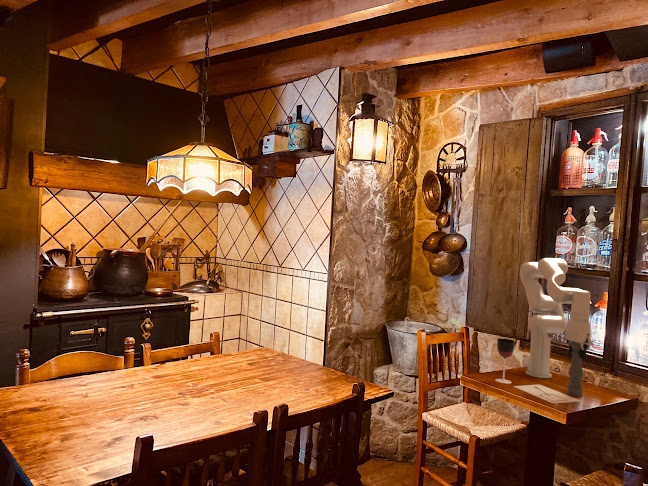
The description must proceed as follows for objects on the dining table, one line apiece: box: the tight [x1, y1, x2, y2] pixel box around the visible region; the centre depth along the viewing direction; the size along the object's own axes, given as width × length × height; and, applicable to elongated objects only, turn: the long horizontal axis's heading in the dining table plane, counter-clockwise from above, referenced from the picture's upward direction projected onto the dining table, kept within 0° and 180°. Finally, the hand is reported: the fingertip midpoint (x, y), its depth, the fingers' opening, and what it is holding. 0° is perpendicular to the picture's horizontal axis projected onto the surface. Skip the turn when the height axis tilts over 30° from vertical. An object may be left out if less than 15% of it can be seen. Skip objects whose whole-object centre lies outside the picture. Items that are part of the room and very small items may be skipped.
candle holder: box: [566, 341, 584, 397], centre depth 234 cm, size 6×6×25 cm
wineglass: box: [495, 338, 516, 384], centre depth 249 cm, size 8×9×20 cm
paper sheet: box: [513, 384, 582, 404], centre depth 232 cm, size 24×16×1 cm, turn 22°
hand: (577, 356), depth 234 cm, fingers closed on candle holder, 5 cm apart
